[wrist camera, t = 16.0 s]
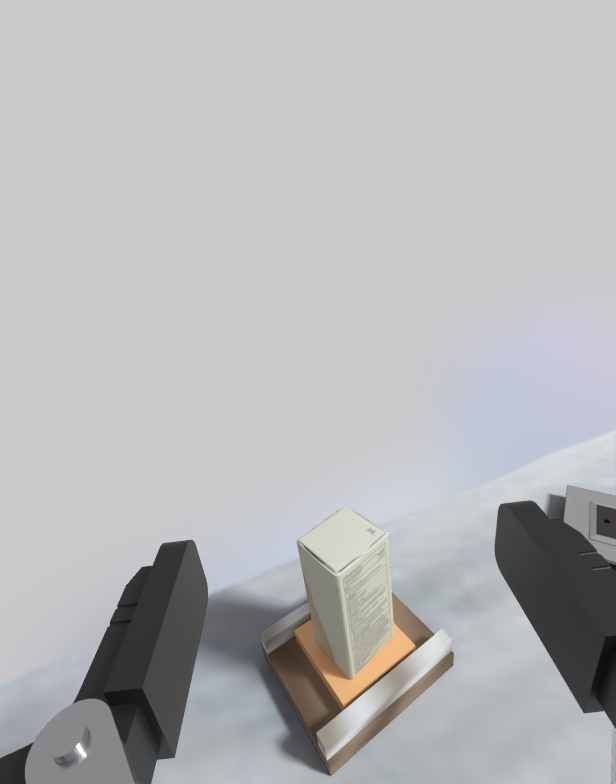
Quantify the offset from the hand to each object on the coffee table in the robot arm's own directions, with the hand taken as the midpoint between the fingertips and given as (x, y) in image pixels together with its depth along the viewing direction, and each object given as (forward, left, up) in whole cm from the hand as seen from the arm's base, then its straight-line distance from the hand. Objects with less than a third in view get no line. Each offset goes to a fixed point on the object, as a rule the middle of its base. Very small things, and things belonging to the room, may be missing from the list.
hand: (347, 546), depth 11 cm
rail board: (+7, +11, -26) cm, 29 cm away
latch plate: (+7, +11, -24) cm, 28 cm away
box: (+7, +11, -24) cm, 27 cm away
